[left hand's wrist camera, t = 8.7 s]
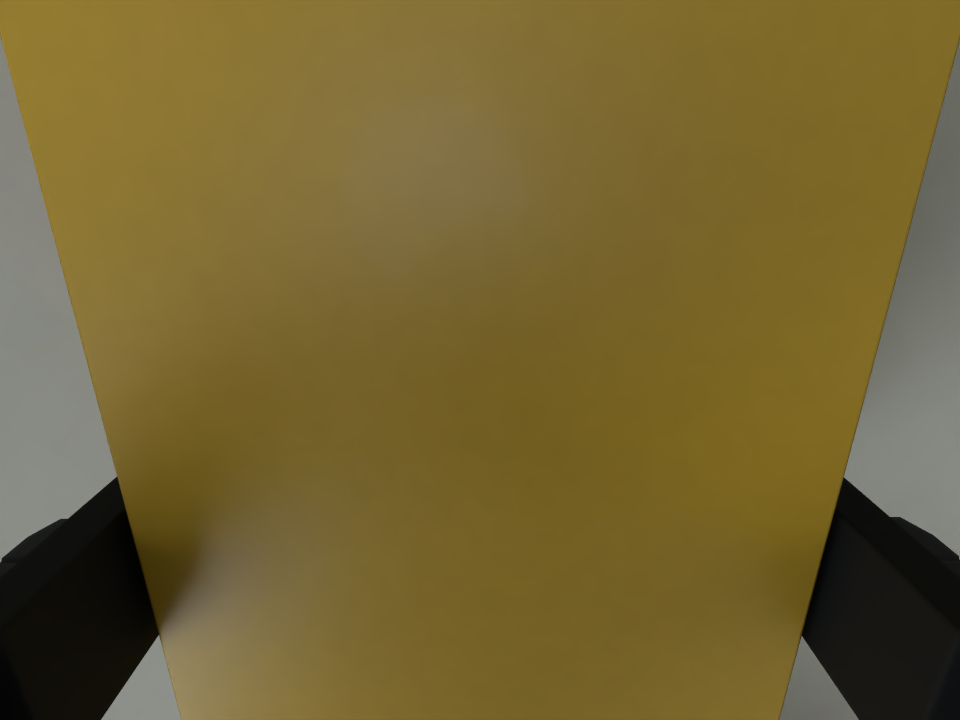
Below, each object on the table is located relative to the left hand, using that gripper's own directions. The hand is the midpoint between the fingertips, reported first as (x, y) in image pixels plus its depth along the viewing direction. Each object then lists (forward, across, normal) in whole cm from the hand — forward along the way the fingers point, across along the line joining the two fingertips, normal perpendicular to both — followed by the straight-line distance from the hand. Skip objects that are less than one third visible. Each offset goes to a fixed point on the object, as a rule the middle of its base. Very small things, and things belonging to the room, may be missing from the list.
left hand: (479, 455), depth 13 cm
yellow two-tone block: (+4, 0, -5) cm, 6 cm away
